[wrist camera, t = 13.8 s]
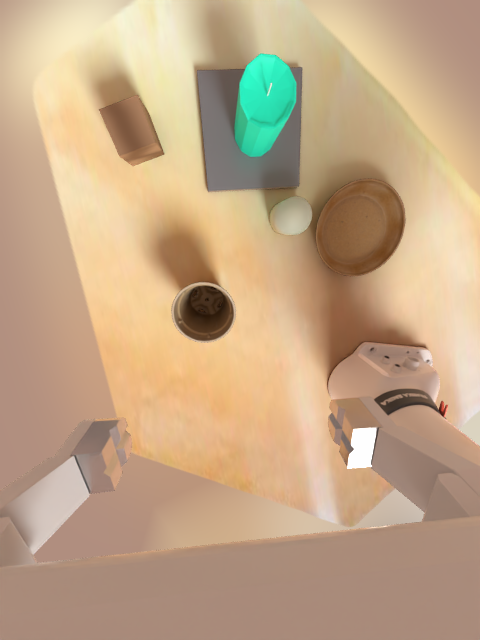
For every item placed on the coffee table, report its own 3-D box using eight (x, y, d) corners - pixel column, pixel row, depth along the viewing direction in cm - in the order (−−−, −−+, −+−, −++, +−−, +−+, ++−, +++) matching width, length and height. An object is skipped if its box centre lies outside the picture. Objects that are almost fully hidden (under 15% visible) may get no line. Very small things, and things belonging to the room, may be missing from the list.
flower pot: (179, 271, 41) (169, 281, 33) (234, 273, 42) (237, 283, 34) (181, 322, 44) (173, 342, 36) (232, 322, 45) (234, 343, 37)
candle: (228, 115, 33) (231, 54, 22) (269, 99, 33) (294, 31, 21) (241, 163, 35) (250, 131, 24) (280, 149, 35) (308, 110, 23)
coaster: (299, 72, 32) (302, 67, 32) (297, 187, 37) (298, 186, 37) (197, 75, 32) (197, 70, 31) (208, 192, 37) (208, 191, 36)
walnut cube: (149, 113, 33) (137, 94, 28) (164, 154, 35) (155, 142, 30) (116, 126, 33) (99, 109, 29) (133, 166, 35) (119, 156, 30)
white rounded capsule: (299, 200, 38) (312, 195, 33) (298, 233, 40) (311, 233, 34) (268, 202, 38) (277, 197, 32) (269, 235, 40) (277, 236, 34)
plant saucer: (298, 262, 42) (303, 264, 40) (329, 170, 37) (336, 165, 35) (372, 281, 44) (381, 284, 42) (409, 196, 39) (422, 193, 37)
